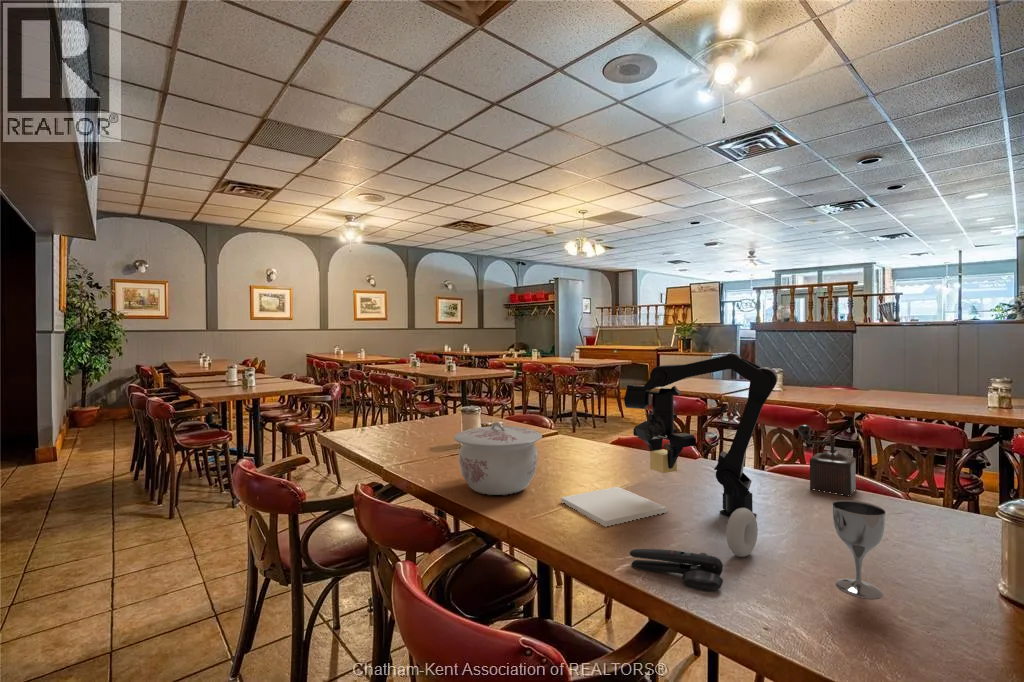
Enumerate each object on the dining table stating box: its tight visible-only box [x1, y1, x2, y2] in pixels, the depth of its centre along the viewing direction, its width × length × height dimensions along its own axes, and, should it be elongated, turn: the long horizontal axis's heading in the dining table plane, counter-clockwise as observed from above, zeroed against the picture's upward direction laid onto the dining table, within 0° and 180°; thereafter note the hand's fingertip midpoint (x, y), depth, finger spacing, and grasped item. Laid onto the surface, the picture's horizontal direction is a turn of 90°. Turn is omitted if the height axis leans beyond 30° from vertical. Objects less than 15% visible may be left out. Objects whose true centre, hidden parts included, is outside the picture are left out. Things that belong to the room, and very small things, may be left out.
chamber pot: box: [453, 421, 543, 496], centre depth 150 cm, size 28×28×21 cm
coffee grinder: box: [797, 424, 857, 497], centre depth 147 cm, size 16×11×18 cm
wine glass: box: [831, 499, 887, 600], centre depth 89 cm, size 8×8×15 cm
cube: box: [649, 448, 678, 474], centre depth 135 cm, size 5×5×5 cm
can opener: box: [629, 548, 724, 592], centre depth 94 cm, size 18×7×6 cm, turn 58°
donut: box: [725, 508, 759, 558], centre depth 103 cm, size 10×4×10 cm, turn 131°
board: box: [560, 486, 667, 528], centre depth 132 cm, size 20×20×2 cm
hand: (663, 466), depth 135 cm, fingers closed on cube, 5 cm apart
